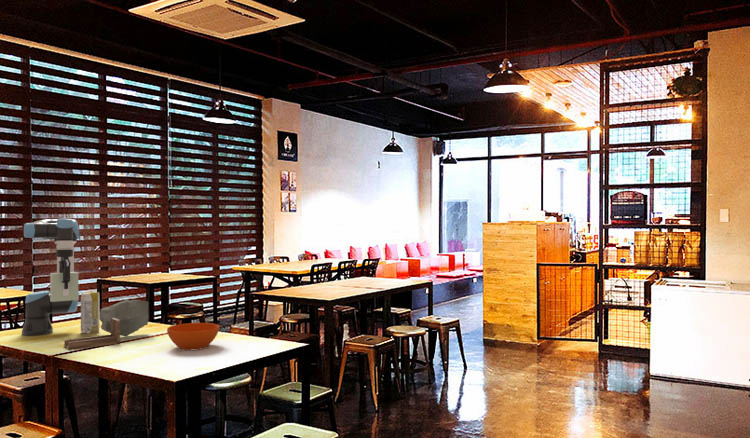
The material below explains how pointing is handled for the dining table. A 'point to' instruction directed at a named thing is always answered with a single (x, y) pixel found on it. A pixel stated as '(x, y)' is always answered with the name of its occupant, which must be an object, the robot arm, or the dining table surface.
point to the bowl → (193, 335)
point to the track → (96, 338)
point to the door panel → (57, 287)
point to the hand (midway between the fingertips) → (64, 295)
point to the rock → (126, 316)
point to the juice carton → (90, 312)
